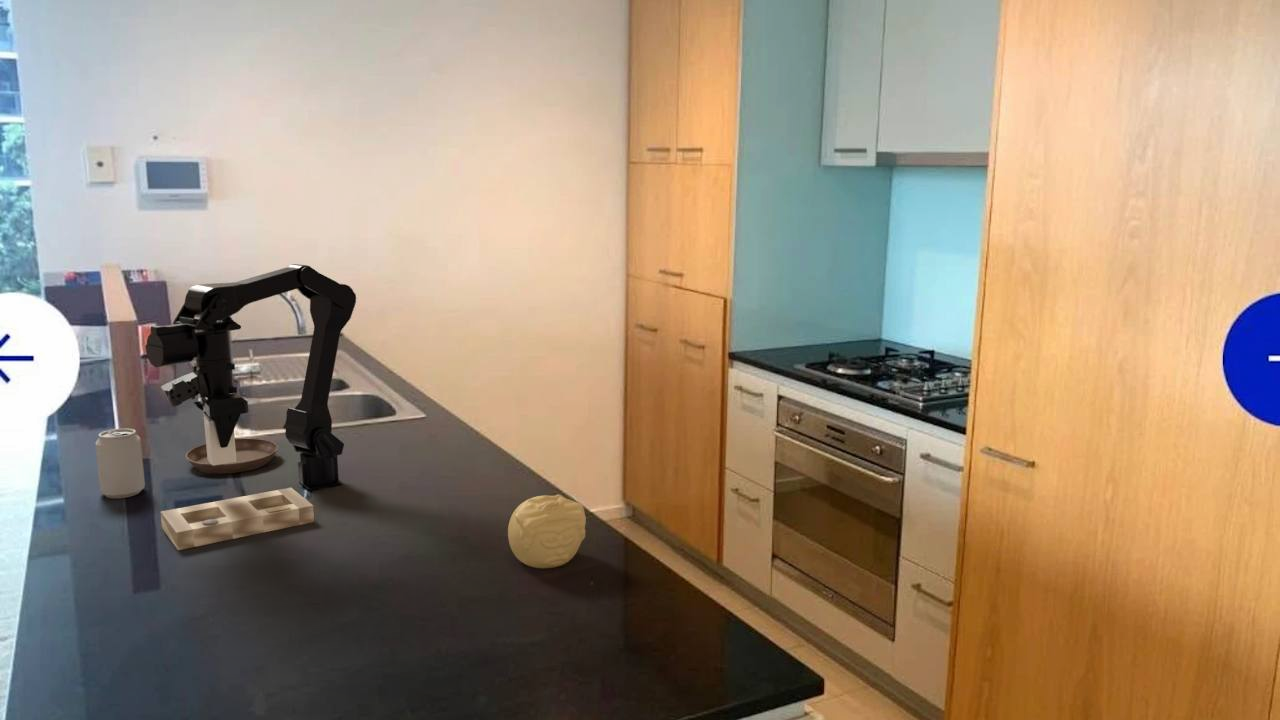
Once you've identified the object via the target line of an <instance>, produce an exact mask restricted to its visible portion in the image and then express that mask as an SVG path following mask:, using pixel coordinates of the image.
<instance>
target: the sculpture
mask: <svg viewBox="0 0 1280 720" xmlns="http://www.w3.org/2000/svg"><path fill="white" fill-rule="evenodd" d="M585 513H586V512H585V509H584V506H583V505H582V504H581V503H579V502H576V501H574V500H572V499H568V498H566V497H564V496H563V495H561V494H559V493H558V494H555V495H546V494H544V495H537V496H533V497H531V498H528V499H526V500H525V501H523V502H522V503H520V504H518V506H517V507H516V509H515V510H514V511H513V513H512V514H511V516H510V519H509V523H508V528H507V537H508V543H509V546H510V550H511V551H512V553H513V555H514V556H515V558H516V559H517V560H519V561H520V562H521V563H522V564H524V565H526V566H528V567H530V568H531V567H532V568H535V569H553V568H557V567H561V566H563V565H566V564H567V563H568V562H569V561H571V560H572V559H573V558H574V556H575V555H576V554H577V552H578V550H579V548H580V546H581V544H582V541H584V539H585V537H586V529H585V527H586V522H587V520H586V519H587V517H586V514H585Z"/></svg>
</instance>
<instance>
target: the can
mask: <svg viewBox="0 0 1280 720" xmlns="http://www.w3.org/2000/svg"><path fill="white" fill-rule="evenodd" d="M136 433H137V431H136V429H134V428H114V429H108V430H105V431H101V432H100V433H99V434H98V439H97V440H96V442H95V443H94V445H95V453H96V463H97V474H98V482H99V491H100V493H101V494H102V495H104V496H105V497H106V498H108V499H123V498H125V499H126V498H130V497H134V496H136V495H138V494H140V493H141V492H142V491H143V489H145V487H146V483H145V482H146V481H145V471H144V461H143V453H142V441H141V437H140V436H139V435H138V434H136Z"/></svg>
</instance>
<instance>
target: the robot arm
mask: <svg viewBox="0 0 1280 720" xmlns="http://www.w3.org/2000/svg"><path fill="white" fill-rule="evenodd" d="M294 290H297V291H298V292H299V293H300V295H302V296H303V297H305V298H306V299H308V300H309V313H310V316H311V320H312V322H313V323H312V324H313V333H312V338H311V344H310V349H309V355H308V360H307V367H306V371H305V376H304V380H303V381H304V382H303V389H302V393H301V398H300V400H299V402H298V404H297V405H296V406H295V407H294V408H293V407H287V410H286V418H285V423H284V425H283V426H282V428H283V429H284V430H285V433H284V434H285V438H286V439H287V441H288V442H289V444H291V445H292V446H293V449H294V451H295V452H296V453H299V456H300V458H299V459H300V461H298V462H297V469H298V483H300V484H301V485H302V486H304V487H305V488H306V489H307V490H308V491H314V490H318V489H324V488H327V487H328V488H329V487H335V486H340V485H342V484H343V481H341V480H340V477H339V461H338V458H339V457H338V456H340V455H341V456H342V454H343V452H344V451H343V450H344V445H345V443H344V442H343V441H341V439H339V438H338V437H337V436H335V435H334V434H333V433H332V431H333V430H332V429H333V428H332V427H333V418H332V416H331V412H330V409H329V404H328V402H329V397H330V393H331V386H332V381H333V374H334V370H335V366H336V359H337V353H338V348H339V343H340V337H341V333H342V330H343V329H344V327H345V326H346V325H347V324H348V322H349V321H350V320H351V318H352V315H353V312H354V309H355V307H356V303H357V295H356V292H354V290H353V288H352V287H351V286H350V285H347V284H343V283H339V282H338V281H337V280H334V279H331V277H328V276H326V275H324V274H322V273H320V272H319V271H317V270H316V269H314V268H312V266H309V265H306V264H297V263H294V264H291V265H289V266H287V267H283V268H281V269H276V270H273V271H269V272H266V273H262V274H259V275H255V276H252V277H249V278H246V279H245V278H244V279H242V280H238V281H234V282H233V281H232V282H220V283H219V282H218V283H215V282H214V283H205V284H196V285H193V286H191V287H190V288H189V289H188V291H187V293H186V295H185V299H184V303H183V304H182V307H181V308H180V310H179V312H178V313H177V315H176V317H175V319H174V320H173V322H172V324H169V325H152V326H150V334H149V335H148V337H147V339H146V344H145V346H144V347H145V353H146V356H147V359H148V361H149V363H150V364H151V366H153V367H154V368H163V367H168V366H172V365H179V364H184V363H190V362H193V360H194V359H195V362H193V365H191V370H192V372H189V373H187V374H185V375H181V376H179V377H177V378H175V379H174V380H173V379H172V380H171V381H168V382H166V383H164V384H163V385H161V386H160V388H161V391H162V392H163V394H164V396H165V397H166V400H167V401H168V403H169V404H170V406H171V407H177V406H180V405H181V404H182V403H184V402H185V401H188V400H195V399H196V397H198V398H197V399H198V400H197V401H194V402H193V405H194V406H196V407H197V408H198V409H199V410H201V411H202V414H203V413H204V414H205V415H206V416H207V417H209V418H210V419H212V420H213V423H214V426H215V430H216V433H217V437H218V441H219V444H220V447H221V448H224V447H227V446H228V444H229V441H230V439H231V436H232V434H233V431H234V432H235V429H236V426H237V424H238V421H239V419H240V416H241V414H247V413H249V402H248V400H246V399H245V398H244V397H243V396H241V394H239V393H238V388H237V386H236V385H235V384H234V374H233V373H234V372H233V371H234V370H236V363H234V362H233V361H232V352H231V351H232V350H231V338H230V332H231V331H237V330H240V329H242V325H240V324H239V323H238V322H237V321H235V320H234V319H233V318H232V316H233V315H235V314H237V313H238V312H240V311H241V310H242V309H243V308H244V307H245V306H247V305H250V304H252V303H255V302H258V301H261V300H265V299H268V298H271V297H274V296H278V295H282V294H284V293H287V292H290V291H294ZM203 405H205V410H206V412H203Z"/></svg>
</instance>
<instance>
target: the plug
mask: <svg viewBox="0 0 1280 720" xmlns="http://www.w3.org/2000/svg"><path fill="white" fill-rule="evenodd" d="M203 412H206V410H205V405H203V411H202V414H203V423H204V433H205V444H206V448H207V459H208V461H209V462H210V463H211V464H212V466H213V465H220V464H226V463H232V462H237V460H236V448H235V439H236V438H235V430H234V431H233V434H232V436H231V439H230V441H229V444H228V446H227V447H224V448H221V447H220V444H219V441H218V437H217V433H216V430H215V426H214V423H213V420H212V419H210V418H209V417H207V416H206V415H205V414H204V413H203Z"/></svg>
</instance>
